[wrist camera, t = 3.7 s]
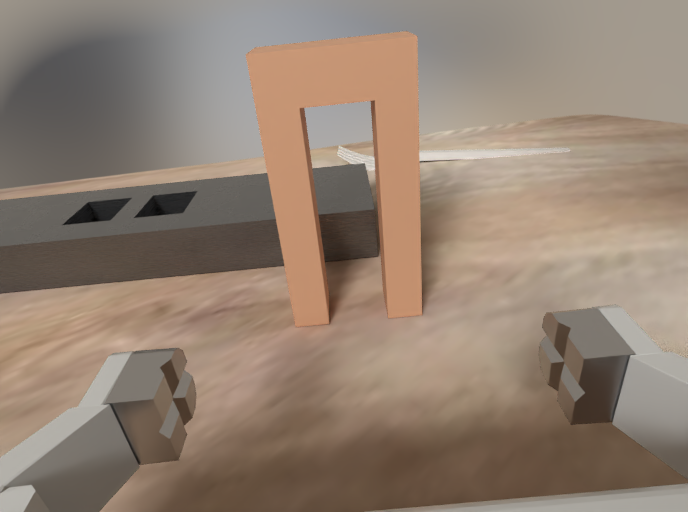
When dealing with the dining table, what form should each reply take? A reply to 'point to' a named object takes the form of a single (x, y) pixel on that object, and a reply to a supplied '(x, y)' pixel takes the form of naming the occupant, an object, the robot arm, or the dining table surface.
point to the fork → (449, 154)
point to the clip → (389, 153)
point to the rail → (172, 229)
